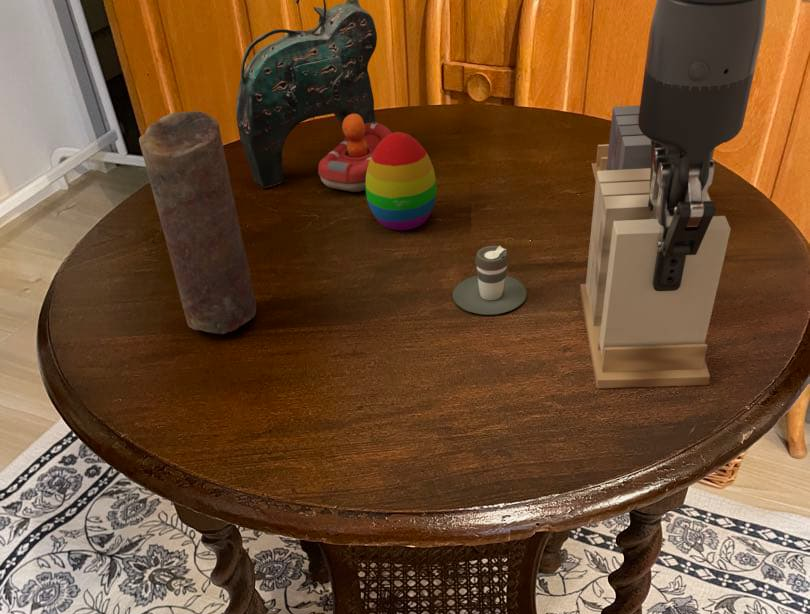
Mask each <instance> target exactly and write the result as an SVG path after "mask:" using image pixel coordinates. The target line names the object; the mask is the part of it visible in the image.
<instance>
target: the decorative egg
mask: <svg viewBox="0 0 810 614" xmlns="http://www.w3.org/2000/svg"><path fill="white" fill-rule="evenodd" d="M436 178H437V177H436V173H435V168H434V165H433V163H432V161H431V158H430V156H429V155H428V153H427V151H426V149H425V148H424V147H423V146H422V145H421V143H420V142H419V141H418V140H417V139H416V138H414V137H413V136H412V135H410V134H409V133H405V132H401V131H395V132H392V133H391V134H389V135H387V136H386V137H385V138H383V139H382V140H381V142H380V143H379V144H378V145H377V147H376V148H375V150H374V152H373V154H372V156H371V158H370V161H369V164H368V168H367V173H366V190H365V196H366V201H367V204H368V206H369V210H370V212H371V213H372V215H373V216H374V218H375V219H376V221H377V222H378V223H379V224H380V225H382V227H385V228H386V229H389V230H393V231H408V230H409V231H410V230H413V229H417V228H419V227H420V226H422V225H423V224H424V223H425V222H426V221H427V220H428V219H429V217H430V215H431V214H432V211H433V209H434V207H435V203H436V198H437V179H436Z"/></svg>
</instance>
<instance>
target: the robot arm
mask: <svg viewBox="0 0 810 614" xmlns="http://www.w3.org/2000/svg"><path fill="white" fill-rule="evenodd" d="M767 1H768V0H656V2H655V5H654V9H653V13H652V17H651V21H650V26H649V32H648V33H649V34H648V42H647V50H646V57H645V63H644V64H645V65H644V73H643V79H642V87H641V94H640V102H639V105H640V110H639V117H638V125H639V128H640V130H641V132H642V133H643V134H644V135H645V136H646V137H647V138H649V139H650V140H651V145H652V152H651V171H650V191H649V201H648V207H649V211H652V217H651V218H650V219H657V220H658V222H659V224H660V225H661V226H660V233H659V240H658V242H657V247H658V252H657V258H656V264H655V270H654V276H653V282H652V283H653V287H654V290H656V291H675V290H677V289H679V287H680V285H681V280H682V275H683V269H684V264H685V259H686V255H696V254H697V251H698V249H699V247H700V245H701V242H702V240H703V238H704V236H705V233H706V231H707V229H708V227H709V224H710V222H711V220H712V218H713V216H714V214H715V212H716V206H715V201H714V200H711V201H706V196H707V193H708V189H709V188H710V186H712V183H713V181H714V180H713V179H714V173H715V161H714V160H713V159H712V160H710V158H711V156H710V153H711V151H712V150H713V149H714V150H715V149H716V148H717V147H719V146H721V145H722V144H724V143H728V142H730V141H731V140H733V139H734V138H736V137H737V136H738V134H740V133H741V130H742V129H743V126H744V122H745V117H746V113H747V109H748V104H749V98H750V95H751V90H752V85H753V81H754V76H755V71H756V66H757V63H758V59H759V52H760V48H761V44H762V39H763V35H764V29H765V22H766V12H767Z"/></svg>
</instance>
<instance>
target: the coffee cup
mask: <svg viewBox="0 0 810 614" xmlns="http://www.w3.org/2000/svg"><path fill="white" fill-rule="evenodd" d="M474 262H475V266H476V275H473V276H470V277H467V278H465V279H464V280H461V281H460V282H458V283H457V284H456V286H455V287H454V289H453V291H452V295H451V296H452V300H453V301H454V303H455V304H456V305H457V306H458V307H459V308H460V309H461V310H464V311H466V312H469V313H472V314H475V315H482V316H496V315H501V314H506V313H509V312H511V311H514V310H516V309H518V308H519V307H520V306H522V305H523V304H524V303H525V301H526V299H527V296H528V292H527V288H526V286H525V285H524V283H522V282H521V281H520V280H519V279H517V278H515V277H513V276H509V275H508V265H509V264H510V263H509V262H510V259H509V254H508V251H507V248H504V247H502V246H501V245H499V246H498V245H487V246H484V247H481V248H479V250H477V252H476V255H475V258H474Z"/></svg>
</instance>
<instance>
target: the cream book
mask: <svg viewBox="0 0 810 614" xmlns="http://www.w3.org/2000/svg"><path fill="white" fill-rule="evenodd" d="M660 226H661V225H660V224H659V222H658V220H657V219H645V220H624V221H614V222H613V229H612V238H611V246H610V255H609V263H608V272H607V280H606V289H605V297H604V306H603V314H602V322H601V331H600V339H599V344H600V349H601V354H602V356H603V354H604V347H627V346H655V345H684V344H706V340H707V336H708V331H709V327H710V323H711V322H710V321H711V318H712V313H713V309H714V304H715V300H716V296H717V291H718V287H719V283H720V278H721V274H722V270H723V265H724V262H725V261H724V260H725V256H726V252H727V247H728V242H729V238H730V234H731V230H732V229H731V226H730V224H729V222H728V219H727V217H726V215H715V216H714V215H713V218H712V220H711V222H710V224H709V227H708V229H707V231H706V233H705V236H704V238H703V240H702V242H701V245H700V247H699V249H698V251H697V254H696V255H686V259H685V264H684V269H683V275H682V280H681V285H680V287H679V289H677V290H675V291H656V290H654V287H653V283H652V282H653V276H654V270H655V264H656V258H657V252H658V247H657V242H658V240H659V233H660Z"/></svg>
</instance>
